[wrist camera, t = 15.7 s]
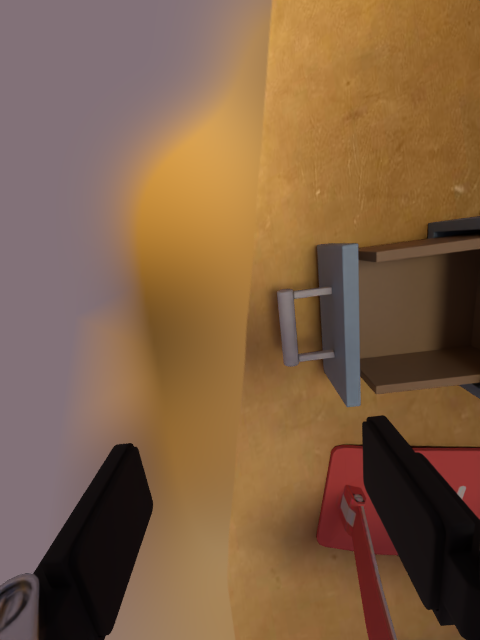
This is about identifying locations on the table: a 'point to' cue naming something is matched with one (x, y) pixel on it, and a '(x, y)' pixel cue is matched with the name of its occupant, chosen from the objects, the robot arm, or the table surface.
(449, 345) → the drawer
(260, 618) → the table surface
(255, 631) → the table surface
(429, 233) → the cabinet
